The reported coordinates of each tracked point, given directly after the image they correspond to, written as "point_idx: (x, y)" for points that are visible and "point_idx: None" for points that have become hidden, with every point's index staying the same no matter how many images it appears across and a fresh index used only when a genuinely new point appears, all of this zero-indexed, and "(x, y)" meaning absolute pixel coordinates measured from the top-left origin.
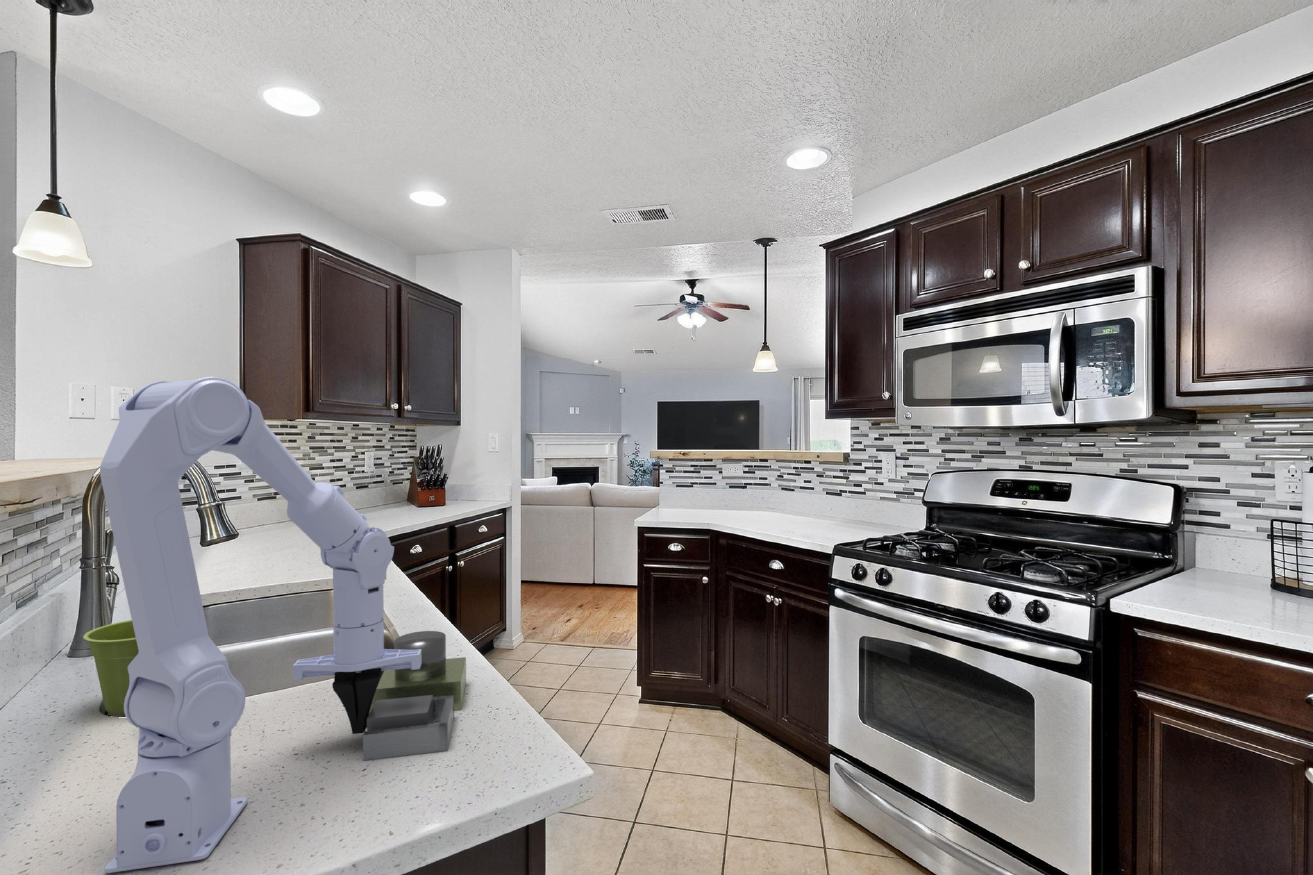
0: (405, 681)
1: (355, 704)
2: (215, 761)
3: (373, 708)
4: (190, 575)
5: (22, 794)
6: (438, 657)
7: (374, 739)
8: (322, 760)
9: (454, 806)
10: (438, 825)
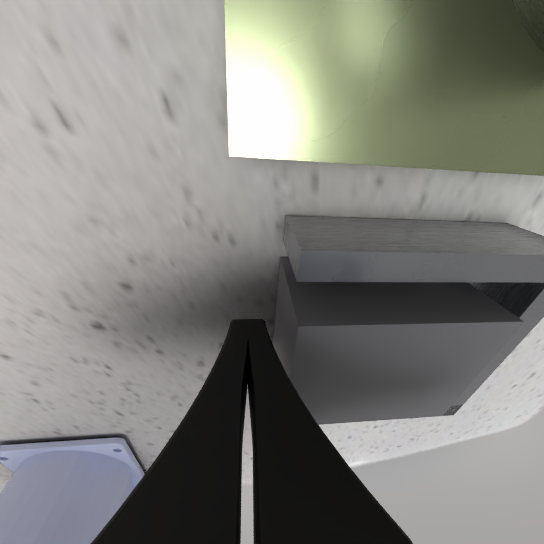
0: (525, 33)
1: (241, 461)
2: None
3: (294, 381)
4: None
5: None
6: None
7: None
8: (184, 359)
9: (383, 448)
10: (362, 462)
